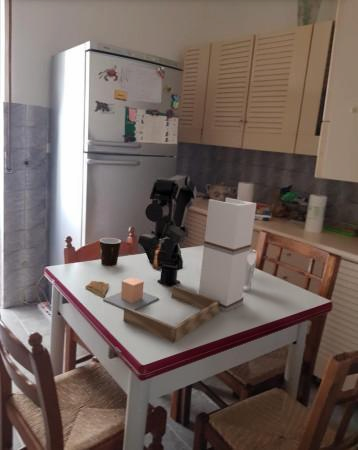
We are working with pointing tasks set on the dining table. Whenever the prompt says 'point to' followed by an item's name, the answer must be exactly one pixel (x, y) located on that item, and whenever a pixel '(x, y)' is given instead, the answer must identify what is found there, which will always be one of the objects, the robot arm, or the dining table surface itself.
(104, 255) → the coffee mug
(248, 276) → the beer glass
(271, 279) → the dining table surface
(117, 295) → the slate mat
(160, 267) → the pastry
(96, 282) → the shard
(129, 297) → the terracotta block
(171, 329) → the walnut u-shaped frame
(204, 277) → the banded white pillar
